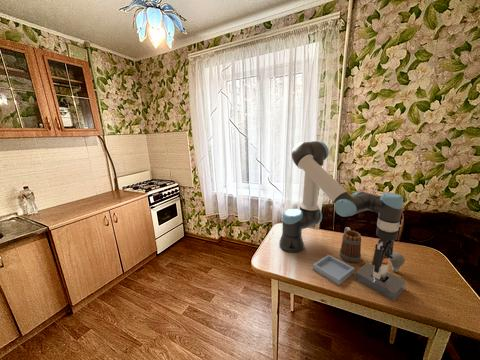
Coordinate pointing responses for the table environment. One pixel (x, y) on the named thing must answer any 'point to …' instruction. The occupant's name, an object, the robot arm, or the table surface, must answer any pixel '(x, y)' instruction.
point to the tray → (333, 269)
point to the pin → (384, 269)
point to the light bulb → (397, 261)
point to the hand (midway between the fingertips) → (380, 273)
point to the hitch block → (380, 282)
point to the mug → (351, 246)
